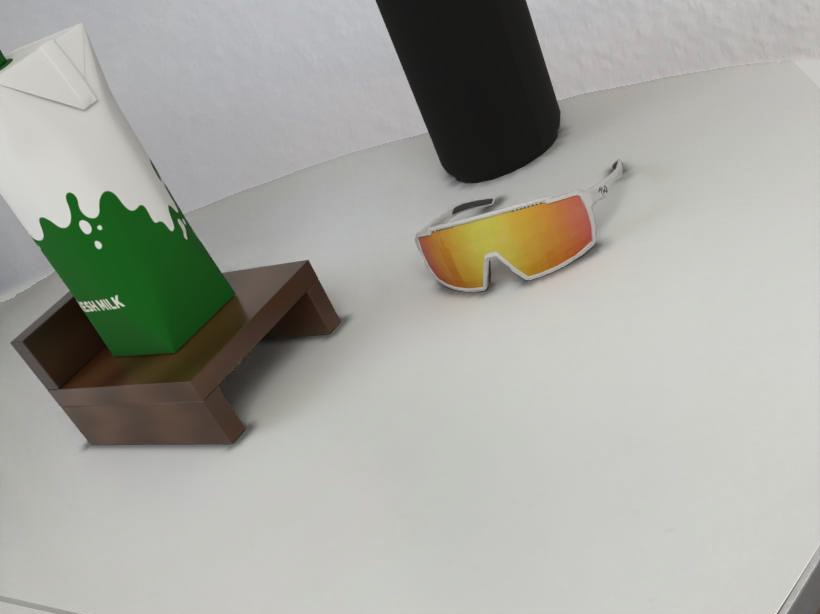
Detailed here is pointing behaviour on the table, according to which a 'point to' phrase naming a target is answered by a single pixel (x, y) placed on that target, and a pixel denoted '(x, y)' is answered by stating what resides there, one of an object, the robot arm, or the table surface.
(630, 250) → the table surface
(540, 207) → the sunglasses
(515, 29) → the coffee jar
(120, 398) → the stand
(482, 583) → the table surface
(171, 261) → the milk carton
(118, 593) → the table surface
